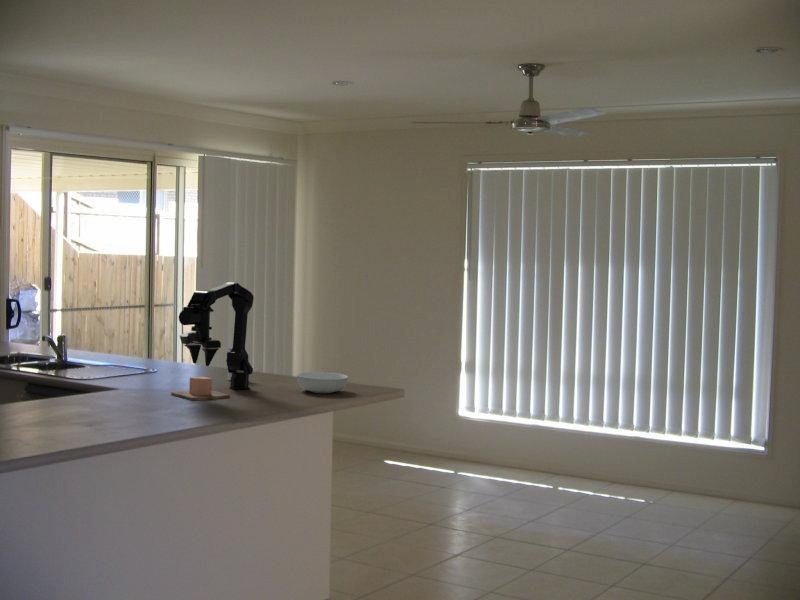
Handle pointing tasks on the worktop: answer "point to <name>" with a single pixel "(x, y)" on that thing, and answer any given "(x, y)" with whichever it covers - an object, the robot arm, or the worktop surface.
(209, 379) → the terracotta cube
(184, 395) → the walnut board
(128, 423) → the worktop surface
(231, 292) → the robot arm
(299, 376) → the serving bowl
